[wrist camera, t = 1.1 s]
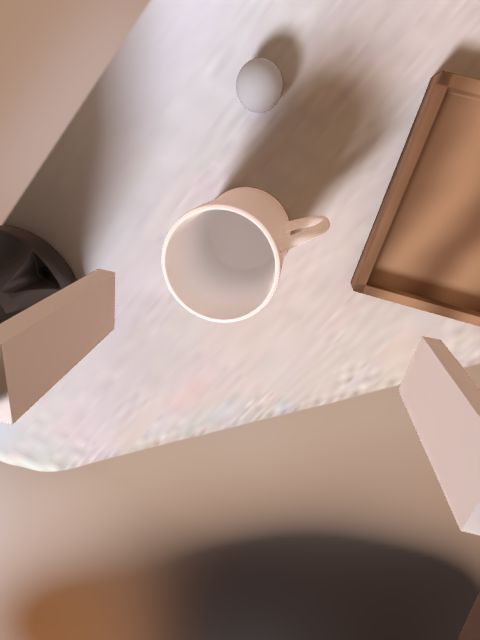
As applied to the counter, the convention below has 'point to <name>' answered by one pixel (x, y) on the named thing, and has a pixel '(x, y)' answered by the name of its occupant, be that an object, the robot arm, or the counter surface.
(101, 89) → the counter surface
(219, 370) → the counter surface
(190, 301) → the mug
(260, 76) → the ball
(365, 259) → the tray
